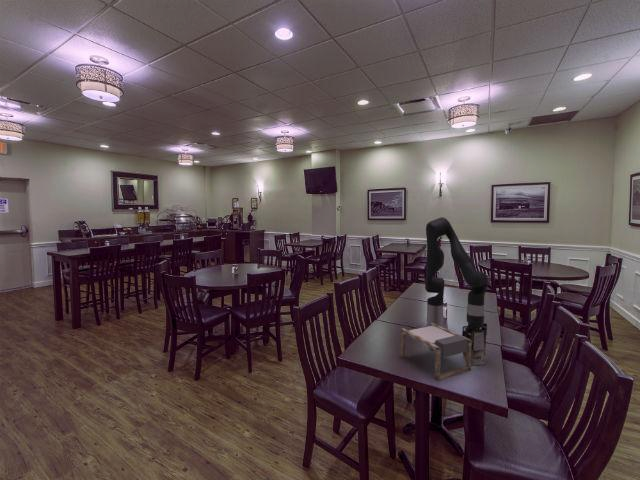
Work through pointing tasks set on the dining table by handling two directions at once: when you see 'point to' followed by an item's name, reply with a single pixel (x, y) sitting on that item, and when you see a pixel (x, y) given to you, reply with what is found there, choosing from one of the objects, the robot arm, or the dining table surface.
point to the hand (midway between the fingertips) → (474, 345)
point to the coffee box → (477, 347)
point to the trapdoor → (443, 340)
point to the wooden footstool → (438, 352)
